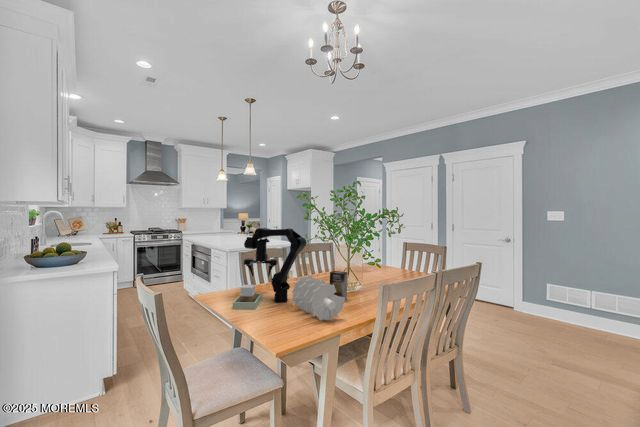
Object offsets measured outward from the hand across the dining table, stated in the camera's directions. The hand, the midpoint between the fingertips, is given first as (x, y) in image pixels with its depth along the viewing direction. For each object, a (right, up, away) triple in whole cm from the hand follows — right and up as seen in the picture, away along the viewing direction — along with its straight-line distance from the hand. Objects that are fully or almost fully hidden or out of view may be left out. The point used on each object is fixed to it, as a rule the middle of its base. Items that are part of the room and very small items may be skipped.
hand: (260, 276), depth 175 cm
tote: (-4, -13, -13) cm, 18 cm away
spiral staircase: (+33, -14, -25) cm, 43 cm away
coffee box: (+45, -14, 0) cm, 47 cm away
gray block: (-4, -6, -16) cm, 18 cm away
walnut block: (-4, -12, -16) cm, 20 cm away
